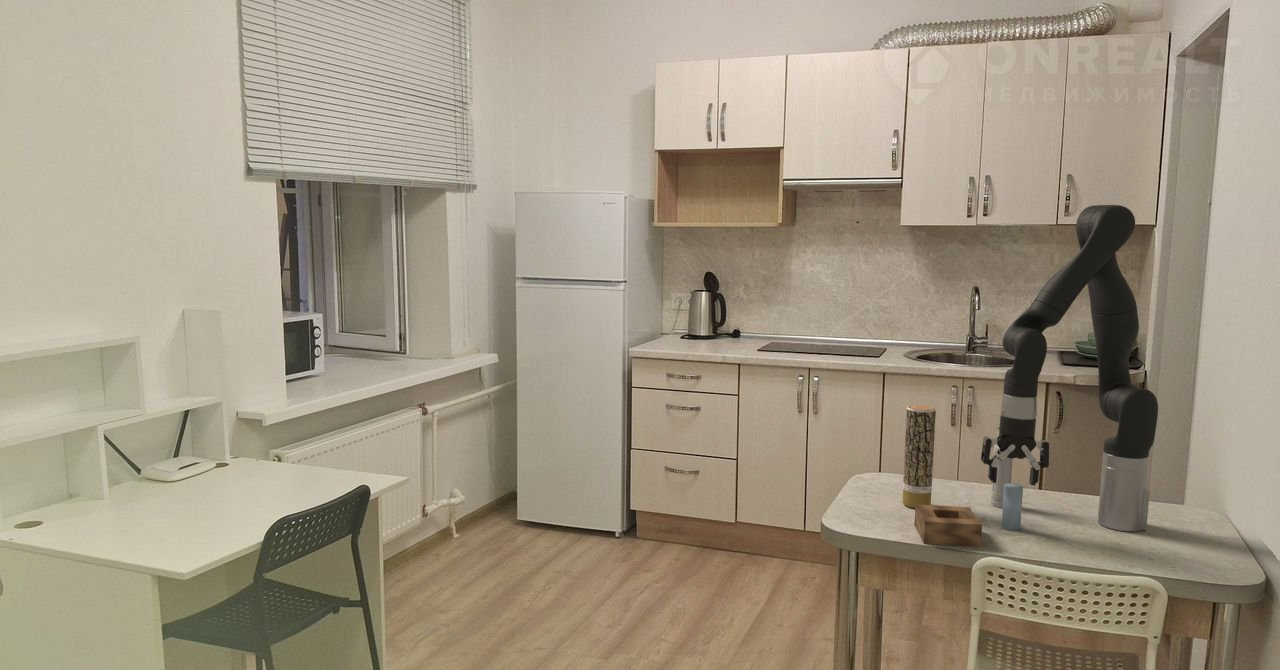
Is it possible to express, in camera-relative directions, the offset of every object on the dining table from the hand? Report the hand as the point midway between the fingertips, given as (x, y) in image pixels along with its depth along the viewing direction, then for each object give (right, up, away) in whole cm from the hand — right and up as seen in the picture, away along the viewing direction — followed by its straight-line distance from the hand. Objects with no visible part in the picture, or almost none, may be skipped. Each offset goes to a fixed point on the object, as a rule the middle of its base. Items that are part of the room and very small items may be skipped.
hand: (1012, 483), depth 198 cm
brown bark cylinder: (-17, -9, +17) cm, 25 cm away
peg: (0, -11, +1) cm, 11 cm away
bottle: (+5, -9, +18) cm, 20 cm away
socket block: (-17, -11, -4) cm, 20 cm away
